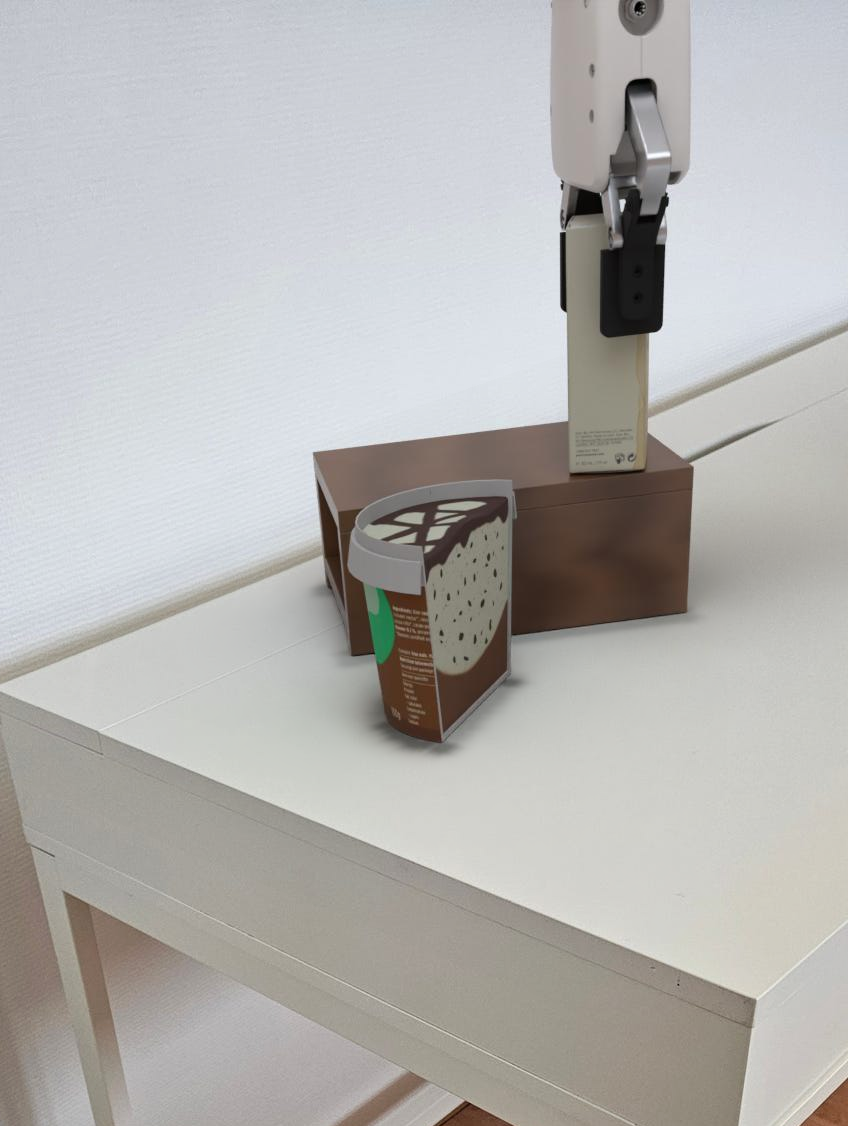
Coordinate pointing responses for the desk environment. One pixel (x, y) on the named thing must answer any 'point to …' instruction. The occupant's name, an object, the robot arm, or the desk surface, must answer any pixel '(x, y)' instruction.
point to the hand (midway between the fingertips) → (609, 319)
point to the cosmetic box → (601, 366)
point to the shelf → (530, 523)
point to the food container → (437, 599)
